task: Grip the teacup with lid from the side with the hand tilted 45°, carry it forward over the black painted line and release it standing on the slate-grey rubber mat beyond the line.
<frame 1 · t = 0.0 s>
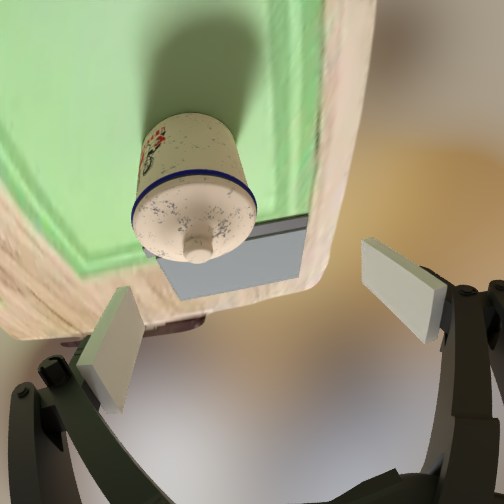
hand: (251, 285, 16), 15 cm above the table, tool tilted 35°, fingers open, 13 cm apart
black line strip: (225, 235, 37), on the table
teacup with lid: (185, 162, 27), on the table
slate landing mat: (235, 267, 43), on the table
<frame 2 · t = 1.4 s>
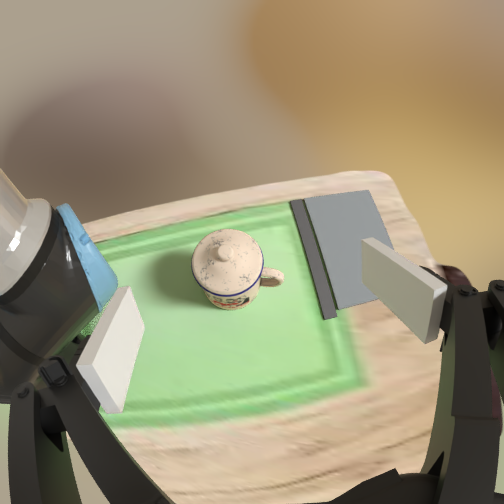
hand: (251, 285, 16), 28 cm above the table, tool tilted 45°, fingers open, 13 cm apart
black line strip: (312, 255, 47), on the table
teacup with lid: (241, 284, 45), on the table
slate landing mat: (356, 243, 47), on the table
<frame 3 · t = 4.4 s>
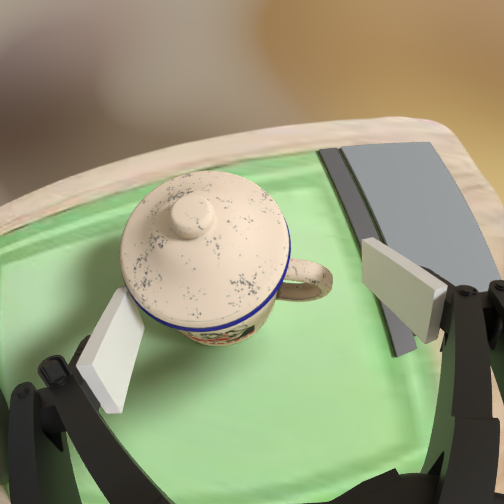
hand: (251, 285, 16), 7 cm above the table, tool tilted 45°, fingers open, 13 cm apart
black line strip: (367, 238, 25), on the table
teacup with lid: (238, 295, 23), on the table, touching gripper
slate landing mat: (430, 219, 25), on the table
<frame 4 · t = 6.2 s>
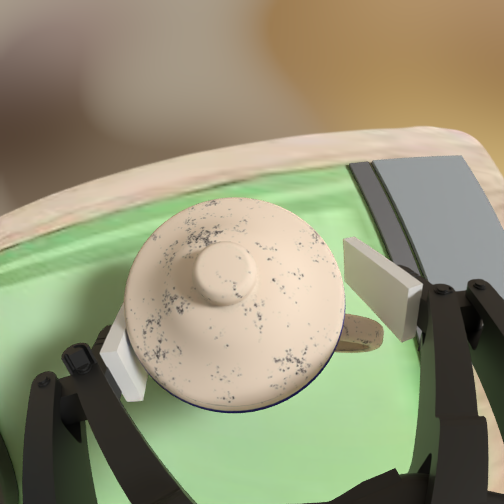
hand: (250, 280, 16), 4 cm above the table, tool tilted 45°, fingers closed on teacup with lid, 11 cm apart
black line strip: (404, 268, 21), on the table
teacup with lid: (263, 337, 19), on the table, touching gripper
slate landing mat: (466, 243, 22), on the table
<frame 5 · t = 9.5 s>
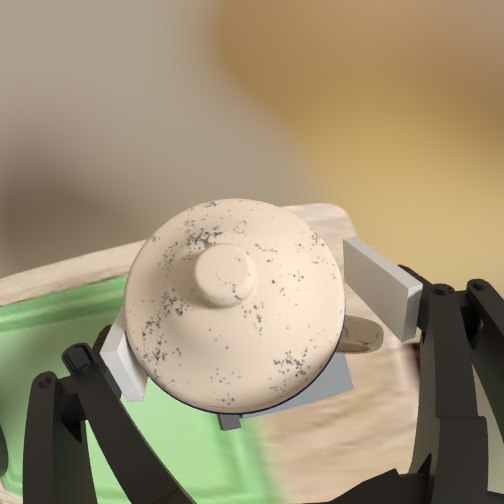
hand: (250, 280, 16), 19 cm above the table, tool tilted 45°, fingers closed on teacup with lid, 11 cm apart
black line strip: (212, 342, 33), on the table
teacup with lid: (263, 338, 19), point 14 cm above the table, touching gripper
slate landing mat: (278, 323, 34), on the table
when the fingers open (6 cm above the table, at t = 12.6 s): teacup with lid drops 2 cm, resting on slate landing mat.
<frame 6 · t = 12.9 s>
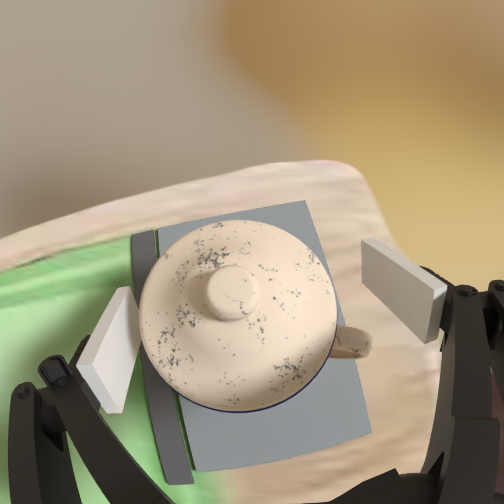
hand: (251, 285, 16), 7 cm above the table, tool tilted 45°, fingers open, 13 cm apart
black line strip: (154, 354, 20), on the table
teacup with lid: (263, 343, 21), resting on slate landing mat
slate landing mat: (256, 330, 21), on the table
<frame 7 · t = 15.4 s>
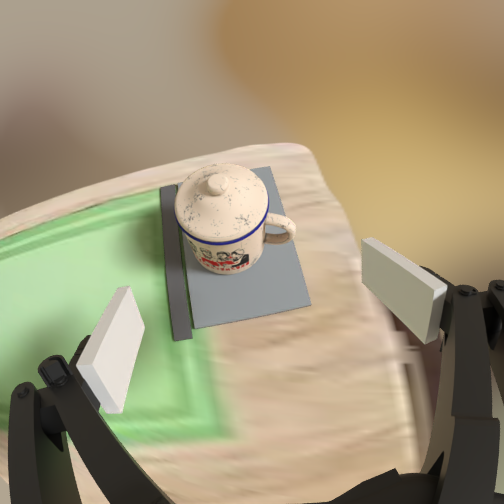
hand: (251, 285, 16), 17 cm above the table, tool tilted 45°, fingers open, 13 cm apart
black line strip: (173, 254, 35), on the table
teacup with lid: (240, 244, 35), resting on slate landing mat
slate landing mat: (236, 238, 36), on the table
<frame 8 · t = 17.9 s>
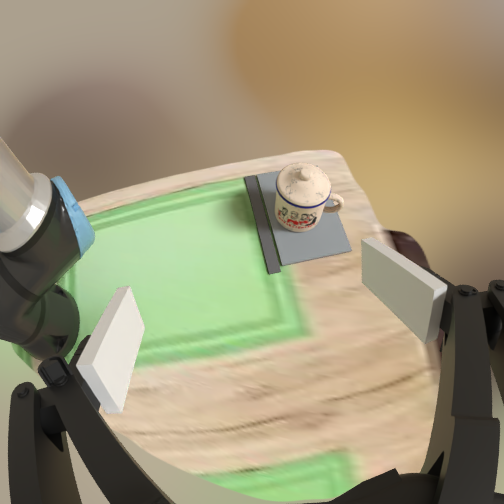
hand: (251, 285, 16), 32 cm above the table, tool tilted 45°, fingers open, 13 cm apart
black line strip: (261, 220, 54), on the table
teacup with lid: (305, 214, 54), resting on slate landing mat
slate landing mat: (302, 210, 55), on the table
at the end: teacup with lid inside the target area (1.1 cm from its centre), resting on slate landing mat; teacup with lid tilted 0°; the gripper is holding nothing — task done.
